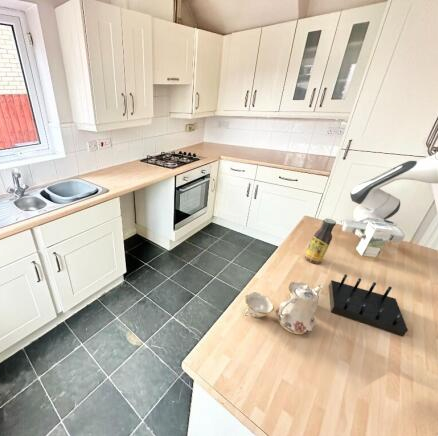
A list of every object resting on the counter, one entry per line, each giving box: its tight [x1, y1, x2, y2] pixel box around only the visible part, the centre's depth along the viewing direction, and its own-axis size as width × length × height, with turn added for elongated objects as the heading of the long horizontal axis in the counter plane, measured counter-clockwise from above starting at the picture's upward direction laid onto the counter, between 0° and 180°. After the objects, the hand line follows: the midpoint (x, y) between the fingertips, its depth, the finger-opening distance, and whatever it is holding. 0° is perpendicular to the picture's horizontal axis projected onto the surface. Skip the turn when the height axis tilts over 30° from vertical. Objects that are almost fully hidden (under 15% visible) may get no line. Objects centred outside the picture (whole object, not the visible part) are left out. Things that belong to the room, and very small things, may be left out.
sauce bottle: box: [304, 218, 337, 264], centre depth 100 cm, size 7×6×20 cm
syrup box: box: [355, 222, 393, 259], centre depth 101 cm, size 6×6×14 cm
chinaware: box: [243, 281, 323, 336], centre depth 77 cm, size 28×17×17 cm, turn 111°
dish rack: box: [328, 274, 409, 337], centre depth 80 cm, size 18×14×8 cm
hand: (374, 239), depth 100 cm, fingers closed on syrup box, 6 cm apart
